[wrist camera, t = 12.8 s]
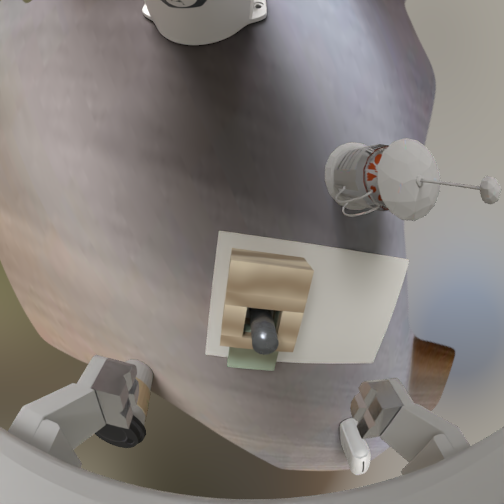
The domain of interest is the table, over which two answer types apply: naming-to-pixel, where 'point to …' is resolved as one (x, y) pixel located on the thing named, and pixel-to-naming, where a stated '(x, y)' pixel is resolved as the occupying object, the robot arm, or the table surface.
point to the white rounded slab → (354, 447)
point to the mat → (322, 299)
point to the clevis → (263, 303)
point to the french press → (391, 179)
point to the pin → (263, 331)
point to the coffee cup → (136, 428)
